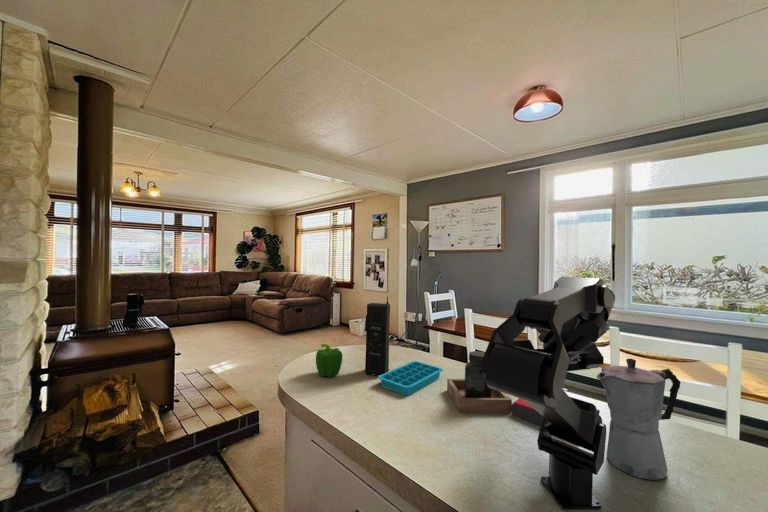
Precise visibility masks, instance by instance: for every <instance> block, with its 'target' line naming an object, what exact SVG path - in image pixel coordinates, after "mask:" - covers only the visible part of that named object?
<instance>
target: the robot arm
mask: <svg viewBox="0 0 768 512" xmlns="http://www.w3.org/2000/svg"><path fill="white" fill-rule="evenodd" d="M615 301H616V295H615V293H614V292H613V291H612V290H611V289H610V288H609V286H608V285H606V284H604V279H602V278H596V277H579V276H566V275H565V276H560V277H559V278H558V279H556V280H555V281H554V284H553V287H552V289H549V290H546V291H544V292H541V293H539V294H535V295H533V296H525V297H523V298H519V299H518V301H517V302H516V305H515V308H514V311H513V314H511V315H510V316H509V317H508V318H507V319H505V321H504V322H502V323H501V324H500V325H498V326H497V327H496V328H495V329H493V331H492V334H491V337H490V338H489V341H488V344H487V347H486V349H485V352H484V353H485V354H484V357H483V360H482V373H483V375H484V376H485V377H484V380H485V382H486V384H487V386H488V387H489V388H491V389H494V390H497V391H500V392H503V393H506V394H507V395H508V396H512V397H515V398H517V399H519V398H520V399H523V400H524V401H525V402H527V403H528V404H529V405H530V406H531V407H533V408H534V409H535V410H536V411H537V412H538V413H540V414H541V415H542V416H543V418H542V422H541V426H539V432H538V437H537V441H536V442H537V449H538V451H541V452H545V453H546V454H548V457H549V458H548V459H549V461H548V476H547V475H546V476H543V475H542V476H540V482H541V483H542V484H543V485H544V487H545V488H546V490H547V491H548V492H549V494H550V495H551V496H552V498H553V499H554V500H555V501H556V502H557V504H558V506H559V507H560V508H561V509H563V510H575V509H576V510H579V509H580V510H585V509H589V510H590V509H591V510H592V509H593V510H595V509H597V510H599V509H603V508H602V507H603V506H602V505H603V504H602V503H601V501H599V500H598V498H596V496H595V495H594V494H593V483H594V477H593V475H595V476H598V473H599V472H600V470H601V468H602V466H603V464H604V462H605V452H606V443H607V442H606V441H607V425H606V424H605V423H603V419H602V416H601V415H600V412H601V410H599V409H598V408H597V406H596V405H595V404H594V403H592V402H588V401H585V400H583V399H578V398H575V397H571V396H569V395H568V394H567V392H565V390H564V386H565V385H564V384H565V381H566V376H567V373H568V372H574V371H575V372H577V371H585V370H591V369H598V368H600V367H601V366H602V365H604V362H605V361H604V356H603V354H602V352H601V351H600V349H599V348H598V346H597V345H596V343H597V341H598V340H599V339H600V338H601V337H602V336H604V335H605V334H606V333H607V331H608V325H607V321H608V320H609V318H610V315H611V312H612V309H613V307H614V304H615ZM526 327H527V328H529V329H530V330H533V329H534V330H536V332H537V333H539V335H538V336H537V338H538V340H539V342H540V343H543V344H542V348H535V347H534V345H533V343H532V341H531V340H530V339H528V338H518V336H520V335H521V333H523V332H525V329H526ZM566 442H567V443H566ZM569 443H570V444H569ZM572 444H573V445H572ZM574 445H575V446H574ZM579 447H581V448H583V449H581V448H579ZM584 449H585V450H584ZM586 450H587V451H586ZM589 451H590V452H589ZM592 452H593V453H592Z"/></svg>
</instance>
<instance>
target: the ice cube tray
mask: <svg viewBox="0 0 768 512" xmlns="http://www.w3.org/2000/svg"><path fill="white" fill-rule="evenodd" d="M443 371H444V369H443V368H442V367H438V366H435V365H432V364H429V363H426V362H425V363H424V362H422V361H417V360H416V361H415V360H413V361H410V362H408V363H406V364H403V365H400V366H398V367H397V368H394V369H392V370H388V372H387V373H384V374H382V375H380V376H377V379H378V380H381V383H380V384H381V387H382V386H384V387H386V388H385V389H387V388H389V389H388V390H390V389H391V390H390V391H393V390H394V391H393V392H395V391H396V393H398V392H399V393H398V394H401V395H403V394H404V395H403V396H411V395H412V394H414V393H417V391H419V390H421V389H423V388H425V387H426V386H428V385H429V384H432V383H433V382H435V381H436V380H439V379H438V378H440V374H441V372H443ZM431 382H432V383H431ZM384 387H383V388H384Z"/></svg>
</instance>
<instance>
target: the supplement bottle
mask: <svg viewBox="0 0 768 512" xmlns="http://www.w3.org/2000/svg"><path fill="white" fill-rule="evenodd" d="M484 354H485V352H484V351H479V350H478V351H477V350H475V351H473V350H472V351H469V354H468V360H469V361H467V362H466V363H465V365H464V379H465V390H464V391H465V392H464V394H465V398H491V388H489V387H488V386H487V384H486V382H485V380H484V377H485V376H484V375H483V373H482V360H483V357H484Z"/></svg>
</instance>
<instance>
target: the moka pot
mask: <svg viewBox="0 0 768 512" xmlns="http://www.w3.org/2000/svg"><path fill="white" fill-rule="evenodd" d="M625 361H626V364H627V365H626V366H625V365H614V364H613V365H609V366H605V367H601V371H600V372H599V373H598V374H597V375H596V378H597V379H598V380H599V381H600V383H601V384H602V386H603V389H604V390H605V391H604V392H605V397H606V404H607V407H608V409H609V413H610V414H609V415H610V419H611V420H610V421H609V430H608V439H607V447H606V448H607V449H606V456H607V457H606V458H607V459H608V461H609V463H611V464H612V465H613V466H614V467H615V468H617V469H619V470H620V471H622V472H624V473H626V474H628V475H630V476H633V477H635V478H639V479H645V480H648V481H649V480H650V481H654V480H656V481H657V480H663V479H665V478H666V477H667V475H668V464H667V461H666V457H665V452H664V447H663V441H662V437H661V433H660V430H659V427H660V426H659V423H660V420H661V421H663V420H670V419H671V416H672V413H673V411H674V407H675V404H676V401H677V400H676V399H677V398H678V393H679V390H680V389H681V388H680V387H681V381H680V380H679V379H678V378H677V376H676V375H675V374H674V373H673V371H672V370H671V369H669V368H666V369H661V370H659V369H651V370H647V369H643V368H639V367H636V363H637V360H636V359H634V358H626V359H625ZM666 380H670V382H671V383H672V385H671V386H670V388H669V397H668V401H667V406H666V409H665V411H664V412H663V405H664V398H665V388H666Z"/></svg>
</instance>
